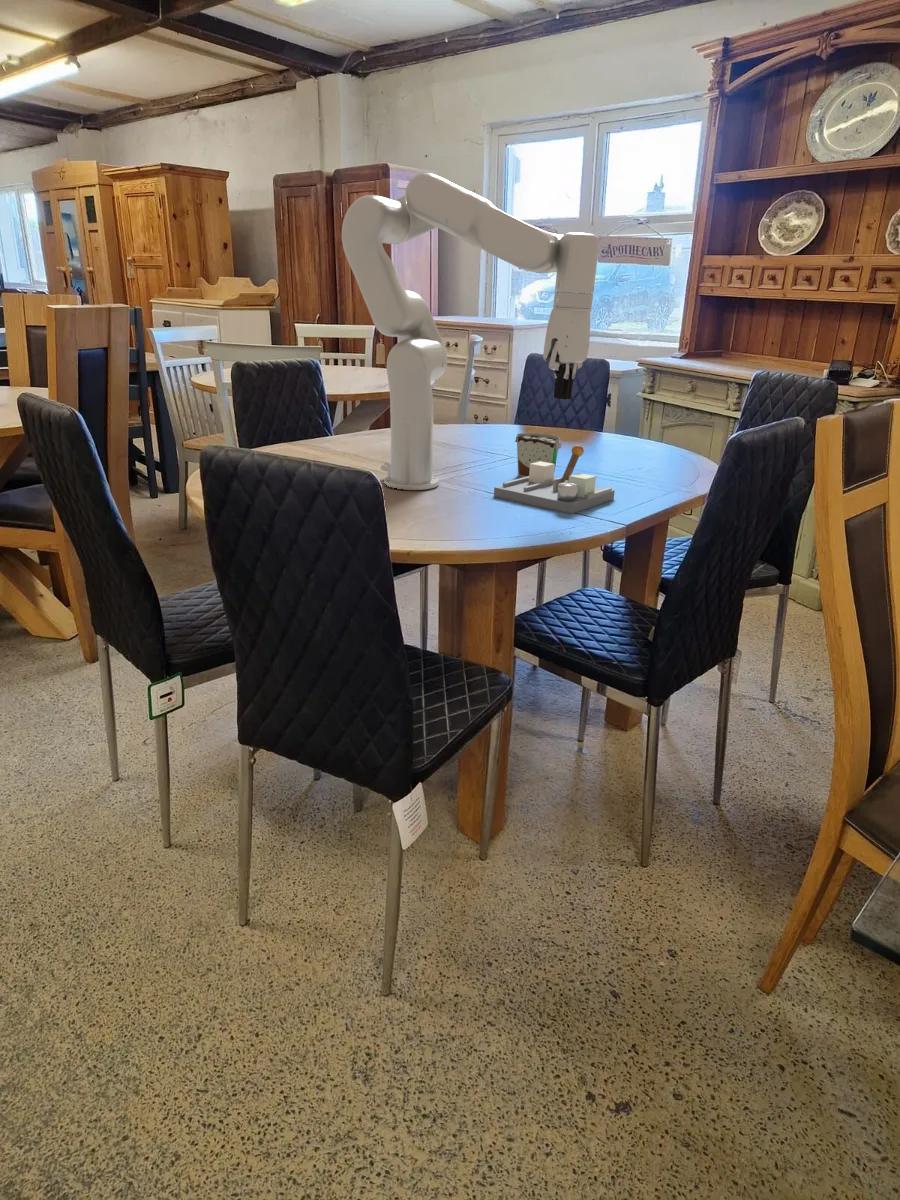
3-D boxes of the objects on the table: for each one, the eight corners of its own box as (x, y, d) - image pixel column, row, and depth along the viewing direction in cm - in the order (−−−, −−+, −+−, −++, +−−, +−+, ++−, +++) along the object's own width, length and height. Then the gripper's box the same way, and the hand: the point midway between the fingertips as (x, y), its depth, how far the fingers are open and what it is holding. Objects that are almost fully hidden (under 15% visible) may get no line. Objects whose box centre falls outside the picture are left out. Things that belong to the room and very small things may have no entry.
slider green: (567, 494, 161) (569, 475, 159) (577, 491, 164) (579, 473, 162) (584, 497, 158) (585, 478, 157) (594, 494, 161) (595, 476, 160)
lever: (554, 484, 164) (572, 441, 165) (559, 489, 166) (577, 447, 167) (564, 486, 162) (582, 443, 163) (569, 491, 164) (587, 449, 165)
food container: (568, 479, 184) (572, 437, 180) (553, 483, 180) (557, 440, 176) (528, 471, 192) (530, 430, 188) (513, 474, 187) (515, 433, 184)
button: (553, 499, 157) (554, 484, 156) (564, 495, 160) (565, 481, 159) (570, 502, 154) (571, 488, 153) (580, 499, 157) (581, 484, 156)
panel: (493, 496, 166) (494, 476, 165) (538, 484, 178) (539, 465, 177) (572, 513, 154) (574, 492, 152) (614, 499, 166) (616, 479, 165)
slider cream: (528, 481, 171) (529, 463, 170) (538, 478, 174) (540, 461, 173) (543, 484, 169) (544, 466, 168) (553, 481, 172) (554, 463, 170)
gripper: (576, 302, 157) (566, 393, 164) (535, 300, 146) (526, 398, 153) (608, 304, 152) (596, 398, 159) (568, 303, 142) (557, 403, 149)
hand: (562, 398), depth 156 cm, fingers closed
